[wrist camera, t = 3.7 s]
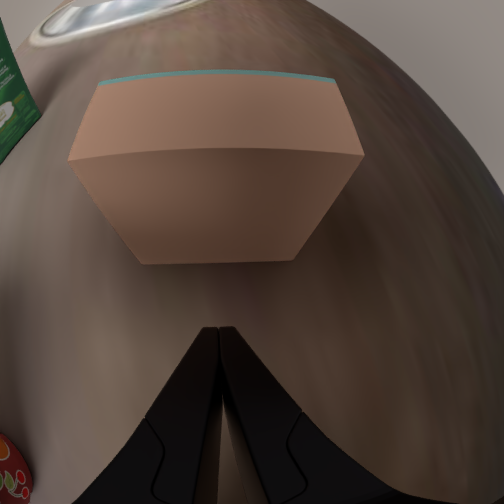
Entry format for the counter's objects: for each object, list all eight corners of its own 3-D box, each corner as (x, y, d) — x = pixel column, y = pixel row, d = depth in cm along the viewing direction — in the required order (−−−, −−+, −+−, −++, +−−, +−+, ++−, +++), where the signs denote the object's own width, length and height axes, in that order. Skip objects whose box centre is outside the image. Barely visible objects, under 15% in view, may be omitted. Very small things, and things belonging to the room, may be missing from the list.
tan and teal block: (292, 260, 17) (364, 155, 8) (142, 264, 16) (67, 161, 7) (285, 202, 19) (334, 79, 9) (147, 205, 18) (100, 81, 8)
